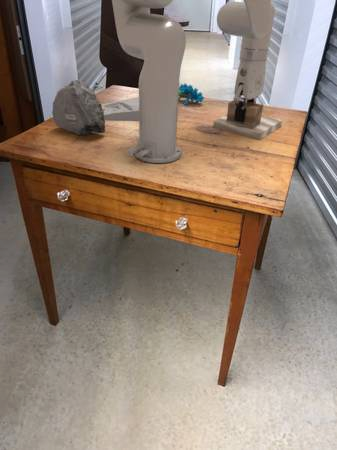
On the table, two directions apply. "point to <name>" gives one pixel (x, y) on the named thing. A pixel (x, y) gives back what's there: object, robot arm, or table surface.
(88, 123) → the decorative rock
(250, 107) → the block
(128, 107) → the ramp
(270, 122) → the board
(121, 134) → the table surface
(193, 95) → the gear
